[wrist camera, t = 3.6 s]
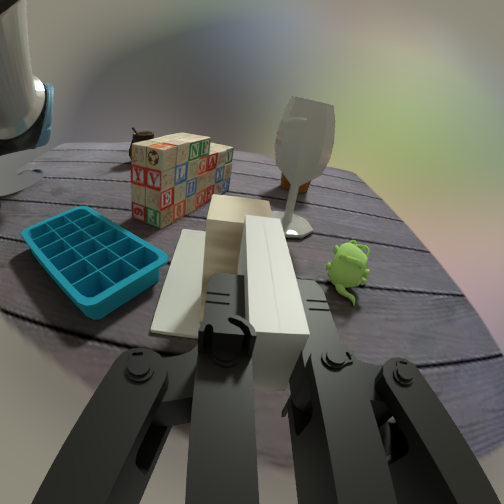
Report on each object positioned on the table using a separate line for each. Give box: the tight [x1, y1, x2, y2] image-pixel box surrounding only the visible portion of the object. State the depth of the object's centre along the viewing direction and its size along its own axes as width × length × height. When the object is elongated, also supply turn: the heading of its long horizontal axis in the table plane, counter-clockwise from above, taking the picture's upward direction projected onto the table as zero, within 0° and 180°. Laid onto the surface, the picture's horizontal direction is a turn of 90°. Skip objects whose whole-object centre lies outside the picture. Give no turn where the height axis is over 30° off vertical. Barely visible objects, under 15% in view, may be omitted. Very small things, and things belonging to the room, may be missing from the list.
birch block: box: [200, 194, 273, 324], centre depth 26 cm, size 5×5×11 cm
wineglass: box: [271, 96, 335, 238], centre depth 42 cm, size 9×9×21 cm
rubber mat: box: [150, 229, 206, 339], centre depth 34 cm, size 14×20×1 cm
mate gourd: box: [129, 128, 154, 160], centre depth 65 cm, size 7×8×10 cm
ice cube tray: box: [21, 206, 168, 320], centre depth 31 cm, size 12×20×3 cm, turn 58°
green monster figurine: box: [326, 240, 370, 306], centre depth 35 cm, size 6×5×6 cm
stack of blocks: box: [131, 133, 234, 229], centre depth 47 cm, size 21×6×12 cm, turn 155°
